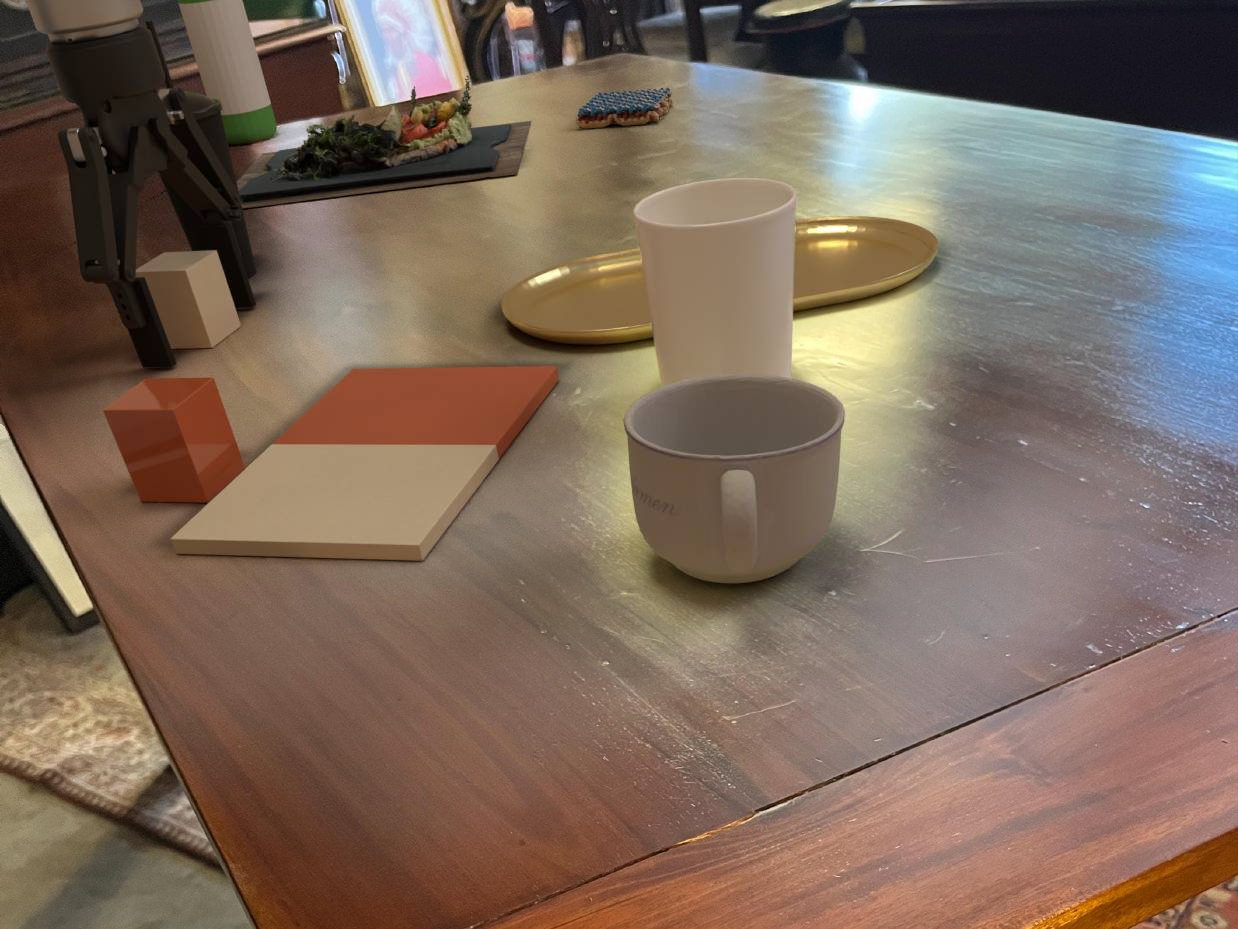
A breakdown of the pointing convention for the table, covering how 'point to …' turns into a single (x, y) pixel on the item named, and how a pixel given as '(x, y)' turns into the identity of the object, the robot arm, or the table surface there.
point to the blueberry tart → (625, 108)
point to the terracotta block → (175, 439)
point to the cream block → (191, 298)
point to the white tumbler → (720, 276)
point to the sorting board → (372, 465)
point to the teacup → (734, 472)
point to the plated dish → (386, 155)
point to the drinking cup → (213, 129)
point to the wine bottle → (230, 67)
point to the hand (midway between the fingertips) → (202, 335)
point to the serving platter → (617, 300)
